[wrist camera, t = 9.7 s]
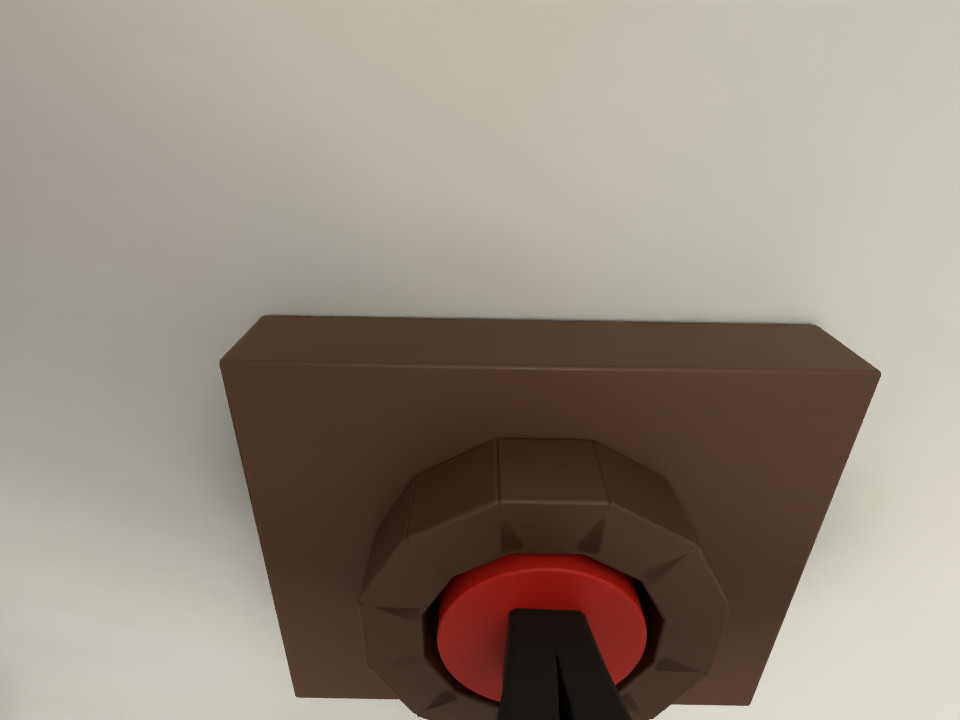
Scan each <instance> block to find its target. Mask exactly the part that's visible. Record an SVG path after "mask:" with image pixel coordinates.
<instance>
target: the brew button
mask: <svg viewBox="0 0 960 720" xmlns="http://www.w3.org/2000/svg"><path fill="white" fill-rule="evenodd" d="M515 608H528V609H552V610H576V611H582V612H583V613H584V614H585V615H586V618H587V621H588V623H589V626H590V629H591V631H592V634H593V636H594V639H595V641H596V643H597V646H598V648H599V651H600V653H601V655H602V657H603V660H604V662H605V664H606V666H607V669H608V671H609V673H610V675H611V677H612V679H613V682H614V684H615V685H616V684H617V683H619V682H620V681H621V680H623V679H624V678H625V677H626V676H627V675H628V674H629V673H630V672H631V671H632V670H633V669H634V667H635V666H636V665H637V663H638V662H639V660H640V658H641V656H642V654H643V651H644V648H645V645H646V638H647V628H646V623H645V619H644V615H643V612H642V609H641V605H640V602H639V599H638V595H637V592H636V588H635V585H634V582H633V578H632V577H631V576H629V575H627V574H625V573H623V572H621V571H618V570H616V569H614V568H612V567H610V566H608V565H606V564H603V563H601V562H599V561H597V560H595V559H593V558H591V557H588V556H586V555H584V554H535V553H512V554H510V555H507V556H505V557H502V558H500V559H497V560H495V561H492V562H489V563H487V564H484V565H482V566H479V567H477V568H474V569H472V570H469V571H467V572H464V573H462V574H459V575H456V576H454V577H453V578H452V579H451V580H450V582H449V583H448V584H447V585H446V586H445V588H444V589H443V590H442V591H441V596H440V607H439V619H438V630H437V645H438V650H439V653H440V656H441V659H442V661H443V663H444V665H445V666H446V668H447V669H448V671H449V672H450V673H451V674H452V675H453V676H454V677H455V678H456V679H457V680H458V681H459V682H460V683H462V684H463V685H464V686H466V687H467V688H469V689H470V690H472V691H474V692H476V693H478V694H480V695H482V696H485V697H487V698H490V699H493V700H496V701H499V702H500V700H501V695H502V676H503V664H504V655H505V646H506V637H507V627H508V618H509V612H510V611H512V610H513V609H515Z"/></svg>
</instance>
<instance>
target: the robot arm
mask: <svg viewBox="0 0 960 720" xmlns="http://www.w3.org/2000/svg"><path fill="white" fill-rule="evenodd" d="M496 720H632V718H631V716H630V714H629V712H628V710H627V708H626V706H625V704H624V702H623V700H622V698H621V696H620V694H619V692H618V690H617V688H616V686H615V684H614V682H613V679H612V677H611V675H610V673H609V671H608V669H607V666H606V664H605V662H604V660H603V657H602V655H601V653H600V651H599V648H598V646H597V643H596V641H595V639H594V636H593V634H592V631H591V629H590V626H589V623H588V621H587V618H586V615H585V614H584V613H583V612H582V611H576V610H552V609H528V608H515V609H513V610H512V611H510V612H509V618H508V627H507V637H506V646H505V655H504V664H503V676H502V695H501V700H500V704H499V709H498V714H497V719H496Z"/></svg>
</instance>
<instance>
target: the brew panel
mask: <svg viewBox="0 0 960 720" xmlns="http://www.w3.org/2000/svg"><path fill="white" fill-rule="evenodd" d="M219 364H220V369H221V373H222V377H223V382H224V386H225V391H226V395H227V399H228V404H229V408H230V412H231V417H232V421H233V425H234V430H235V434H236V439H237V443H238V447H239V452H240V456H241V460H242V465H243V469H244V474H245V478H246V482H247V487H248V491H249V495H250V500H251V504H252V508H253V513H254V517H255V522H256V526H257V530H258V535H259V539H260V543H261V548H262V552H263V556H264V561H265V565H266V570H267V574H268V578H269V583H270V587H271V591H272V596H273V600H274V605H275V609H276V613H277V618H278V622H279V626H280V631H281V635H282V639H283V644H284V648H285V653H286V657H287V661H288V666H289V670H290V674H291V679H292V683H293V687H294V692H295V696H296V697H302V698H356V699H400V700H401V701H402V702H403V703H404V704H405V705H406V706H407V707H408V708H409V709H410V710H411V711H412V712H413V713H415V714H417V716H419V717H422V718H425V719H428V720H496V719H497V714H498V709H499V704H500V702H499V701H496V700H493V699H490V698H487V697H485V696H482V695H480V694H478V693H476V692H474V691H472V690H470V689H469V688H467V687H466V686H464V685H463V684H462V683H460V682H459V681H458V680H457V679H456V678H455V677H454V676H453V675H452V674H451V673H450V672H449V671H448V669H447V668H446V666H445V665H444V663H443V661H442V659H441V656H440V653H439V650H438V645H437V630H438V619H439V607H440V596H441V591H442V590H443V589H444V588H445V586H446V585H447V584H448V583H449V582H450V580H451V579H452V578H453V577H454V576H456V575H459V574H462V573H464V572H467V571H469V570H472V569H474V568H477V567H479V566H482V565H484V564H487V563H489V562H492V561H495V560H497V559H500V558H502V557H505V556H507V555H510V554H512V553H535V554H584V555H586V556H588V557H591V558H593V559H595V560H597V561H599V562H601V563H603V564H606V565H608V566H610V567H612V568H614V569H616V570H618V571H621V572H623V573H625V574H627V575H629V576H631V577H632V578H633V582H634V585H635V588H636V592H637V595H638V599H639V602H640V605H641V609H642V612H643V615H644V619H645V623H646V628H647V638H646V645H645V648H644V651H643V654H642V656H641V658H640V660H639V662H638V663H637V665H636V666H635V667H634V669H633V670H632V671H631V672H630V673H629V674H628V675H627V676H626V677H625V678H624V679H623V680H621V681H620V682H619V683H617V684H616V685H615V686H616V688H617V690H618V692H619V694H620V696H621V698H622V700H623V702H624V704H625V706H626V708H627V710H628V712H629V714H630V716H631V718H632V720H649V719H653V718H654V717H656V716H657V715H658V714H660V713H661V712H662V711H663V710H665V709H666V708H667V707H668V706H670V705H671V704H682V705H736V706H748V705H750V703H751V701H752V698H753V696H754V693H755V690H756V688H757V685H758V683H759V680H760V678H761V675H762V673H763V670H764V668H765V665H766V663H767V660H768V658H769V655H770V653H771V650H772V648H773V645H774V643H775V640H776V638H777V635H778V633H779V630H780V628H781V625H782V623H783V620H784V618H785V615H786V613H787V610H788V608H789V605H790V603H791V600H792V598H793V595H794V593H795V590H796V588H797V585H798V582H799V580H800V577H801V575H802V572H803V570H804V567H805V565H806V562H807V560H808V557H809V555H810V552H811V550H812V547H813V545H814V542H815V540H816V537H817V535H818V532H819V530H820V527H821V525H822V522H823V520H824V517H825V515H826V512H827V510H828V507H829V505H830V502H831V500H832V497H833V495H834V492H835V490H836V487H837V485H838V482H839V480H840V477H841V475H842V472H843V469H844V467H845V464H846V462H847V459H848V457H849V454H850V452H851V449H852V447H853V444H854V442H855V439H856V437H857V434H858V432H859V429H860V427H861V424H862V422H863V419H864V417H865V414H866V412H867V409H868V407H869V404H870V402H871V399H872V397H873V394H874V392H875V389H876V387H877V384H878V382H879V379H880V377H881V372H880V371H879V370H878V369H876V368H875V367H873V366H872V365H871V364H869V363H868V362H867V361H865V360H864V359H862V358H861V357H860V356H858V355H857V354H856V353H854V352H853V351H851V350H850V349H849V348H847V347H846V346H845V345H843V344H842V343H840V342H839V341H838V340H836V339H835V338H833V337H832V336H831V335H829V334H828V333H827V332H825V331H824V330H822V329H821V328H820V327H818V326H816V325H763V324H704V323H646V322H587V321H529V320H470V319H412V318H354V317H295V316H263V317H261V318H260V319H259V320H258V321H257V322H256V323H255V324H254V325H253V326H252V327H251V328H250V330H249V331H248V332H247V333H246V334H245V335H244V336H243V337H242V338H241V339H240V340H239V341H238V342H237V343H236V344H235V345H234V346H233V347H232V348H231V349H230V350H229V351H228V352H227V353H226V354H225V355H224V356H223V357H222V358H221V359H220V363H219Z"/></svg>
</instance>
